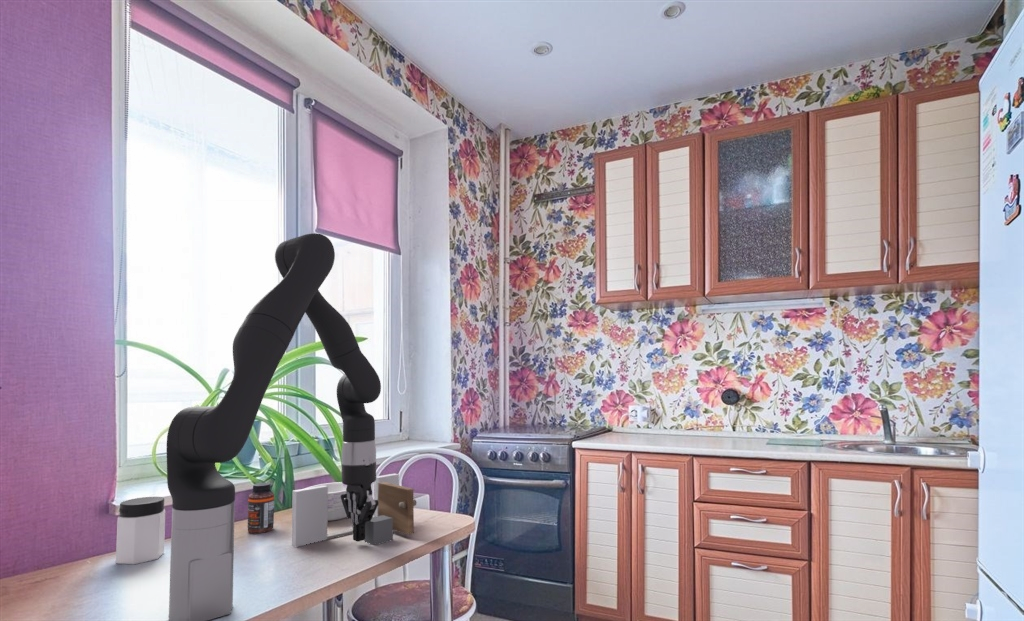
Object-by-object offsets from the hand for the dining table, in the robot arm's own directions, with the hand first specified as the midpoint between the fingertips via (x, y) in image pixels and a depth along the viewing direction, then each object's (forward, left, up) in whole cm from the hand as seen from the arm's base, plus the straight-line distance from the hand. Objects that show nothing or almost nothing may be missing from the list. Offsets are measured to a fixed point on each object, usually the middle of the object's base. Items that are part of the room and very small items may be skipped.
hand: (359, 540), depth 130 cm
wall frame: (+11, -4, -1) cm, 12 cm away
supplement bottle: (+30, +10, -1) cm, 32 cm away
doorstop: (0, -5, -1) cm, 5 cm away
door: (+3, -11, 0) cm, 11 cm away
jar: (+28, +36, -1) cm, 46 cm away
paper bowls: (+29, -8, -1) cm, 30 cm away
